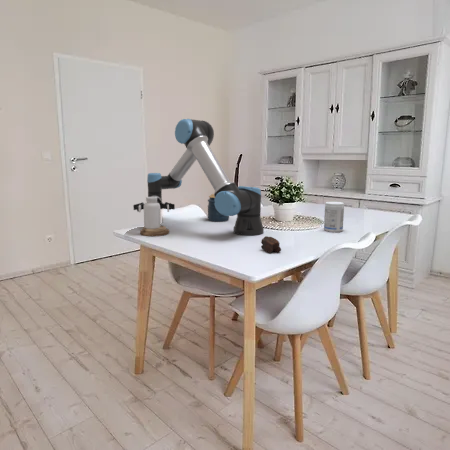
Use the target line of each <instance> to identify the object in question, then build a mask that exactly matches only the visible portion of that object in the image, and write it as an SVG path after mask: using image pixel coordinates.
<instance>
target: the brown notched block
mask: <svg viewBox="0 0 450 450" xmlns="http://www.w3.org/2000/svg"><path fill="white" fill-rule="evenodd" d="M260 243H261V247H260V248H261V249H262V250H263V251H265V253H266V252H267V253H269V254H270V253H271V252H274V253H276V254H277V253H278V254H279V253H280V252H282V248H281V246H280V241H279V240H278V239H276V238H275V237H272V236H268V235H266V236H264V237H263V238H261V240H260Z"/></svg>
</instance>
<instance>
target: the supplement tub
mask: <svg viewBox="0 0 450 450" xmlns="http://www.w3.org/2000/svg"><path fill="white" fill-rule="evenodd" d="M324 204H325V205H324V216H323V217H324V219H323V220H324V221H323V230H324V231H326V232H331V233H340V232H343V230H344V219H345V217H344V216H345V215H344V214H345V203H344V202H343V201H326V202H325V203H324Z"/></svg>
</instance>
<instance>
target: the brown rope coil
mask: <svg viewBox="0 0 450 450" xmlns="http://www.w3.org/2000/svg"><path fill="white" fill-rule="evenodd" d="M139 233H140V234H139V235H141V236H144V237H161V236H166V235H169V234H170V228H167V227H166V226H165V225H160V228H157V229H147V228H145V227H144V226H143V227H142V229H140V232H139Z"/></svg>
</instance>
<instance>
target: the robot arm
mask: <svg viewBox="0 0 450 450" xmlns="http://www.w3.org/2000/svg"><path fill="white" fill-rule="evenodd" d="M214 132H215V131H214V127H213V126H212V125H211V124H210V123H209V121H208V122H207V121H206V120H199V119H192V118H191V119H190V118H183V119H182V118H181V120H179V121H178V122H177V124H176V125H175V128H174V136H175V139H176V142H177V143H179V144H181V145H183V144H184V147H185V148H186V150H185V151H184V152H183V154H182V155H181V157H180V158H179V159H178V160H177V163H175V165H174V166H173V168H172V169H171V170H170V172H169V173H168V174H167V175H162V174H161V173H160V172H150V173H148V174H147V181H146V183H147V197H157V203H159V204H160V210H162V209H163V210H167V212H168V213H169V212H170V211H171V210H175V203H171V202H166V201H165V202H164V203H163V199H162V195H163V194H162V191H163V190H170V189H171V190H172V189H173V190H174V189H177V188H180V187H181V186H182V182H183V180H182V179H183V178H184V176H185V175H186V174H187V172H188V171H189V170H190V169H191V168H192V166H193V165H194V164H195V162H196V161H197V162H198V164H199V165H200V168H201V170H202V171H203V173H204V174H205V176H206V178H207V179H208V181H209V183H210V185H211V186H212V189H214V193H213V194H214V196H215V199H214V201H215V203H214V204H215V207H216V209H217V211H218V212H219V213H220V214H222V215H224V216H229V217H234V216H236V219H235V223H234V226H233V233H234V234H237V235H240V236H241V235H242V236H257V235H262V234H263V233H264V230H265V229H264V227H263V221H262V219H261V214H262V213H261V209H262V207H261V206H262V190H261V188H259V187H254V186H246V185H245V186H243V185H242V186H241V185H239V186H238V184H236V182H233V181H231V180H230V179H229V176H228V175H227V173H226V172H225V170H224V169H223V167H222V165H221V163H220V161H219V160H218V159H217V157H216V155H215V154H214V153H215V152H213V150H212V149H211V145H212V143H213V142H214V141H213V140H214V137H215V133H214ZM144 204H145V202H142V201H141V202H139V203H136V204H133V205H132V206H133V211H137V213H142V212H141V211H142V210H144Z"/></svg>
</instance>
